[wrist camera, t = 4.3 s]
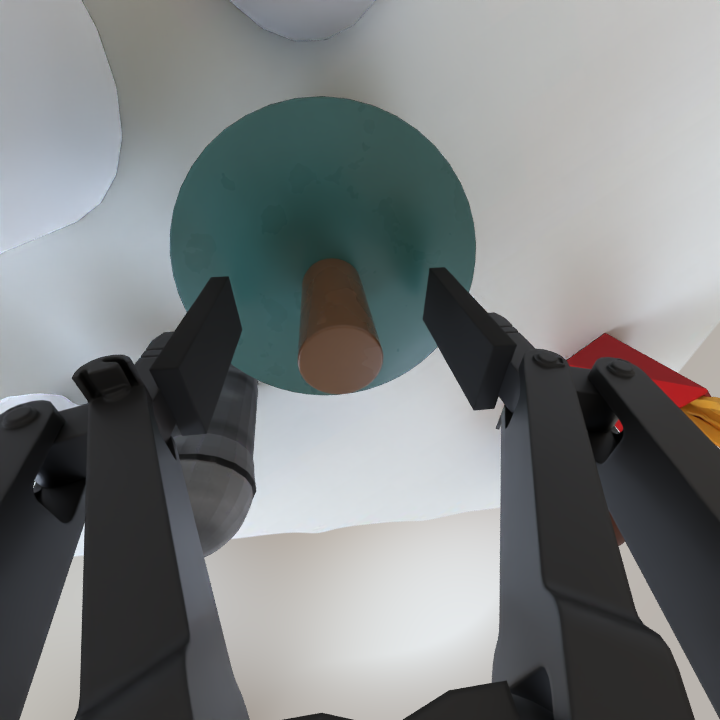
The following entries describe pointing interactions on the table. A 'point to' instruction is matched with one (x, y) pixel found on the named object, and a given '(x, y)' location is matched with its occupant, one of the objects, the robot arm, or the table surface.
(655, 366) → the french fries
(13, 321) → the table surface
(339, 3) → the donut
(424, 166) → the tin lid
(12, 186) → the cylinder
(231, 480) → the beverage cup
